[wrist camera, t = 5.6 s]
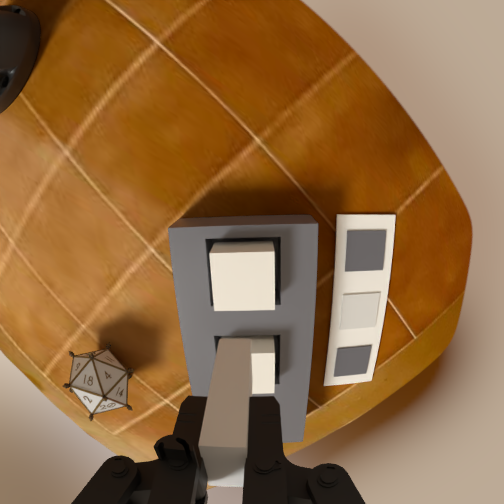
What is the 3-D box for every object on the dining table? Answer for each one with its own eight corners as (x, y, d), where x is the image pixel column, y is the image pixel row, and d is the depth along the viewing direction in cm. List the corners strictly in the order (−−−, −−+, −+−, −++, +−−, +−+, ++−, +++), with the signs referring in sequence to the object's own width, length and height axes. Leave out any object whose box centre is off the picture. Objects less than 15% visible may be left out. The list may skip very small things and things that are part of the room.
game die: (129, 337, 37) (149, 364, 29) (126, 396, 36) (146, 434, 28) (62, 330, 32) (62, 358, 24) (62, 392, 31) (65, 432, 23)
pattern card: (336, 214, 28) (337, 215, 28) (394, 214, 28) (396, 215, 28) (323, 384, 34) (324, 387, 34) (370, 379, 34) (371, 381, 33)
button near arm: (214, 242, 26) (209, 253, 23) (272, 240, 26) (274, 251, 23) (218, 295, 28) (214, 310, 25) (273, 294, 27) (275, 309, 25)
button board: (179, 218, 29) (168, 228, 25) (310, 214, 28) (318, 223, 24) (206, 419, 36) (202, 442, 32) (299, 418, 36) (302, 441, 32)
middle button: (221, 335, 29) (218, 353, 26) (273, 334, 29) (274, 353, 26) (225, 374, 30) (223, 393, 27) (273, 373, 30) (274, 393, 27)
